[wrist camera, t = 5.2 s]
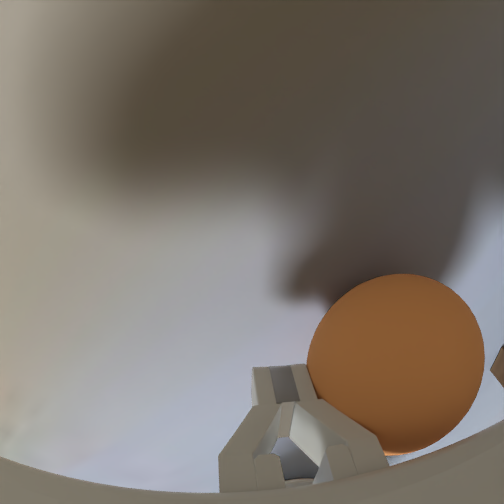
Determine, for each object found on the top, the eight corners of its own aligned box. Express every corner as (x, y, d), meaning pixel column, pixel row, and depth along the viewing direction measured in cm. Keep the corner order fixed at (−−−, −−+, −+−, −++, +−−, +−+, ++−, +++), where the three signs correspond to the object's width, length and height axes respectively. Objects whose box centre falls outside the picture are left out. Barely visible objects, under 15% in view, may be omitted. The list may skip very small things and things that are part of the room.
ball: (269, 271, 10) (398, 430, 4) (414, 226, 11) (543, 307, 6) (281, 392, 12) (352, 510, 7) (395, 341, 14) (476, 424, 9)
